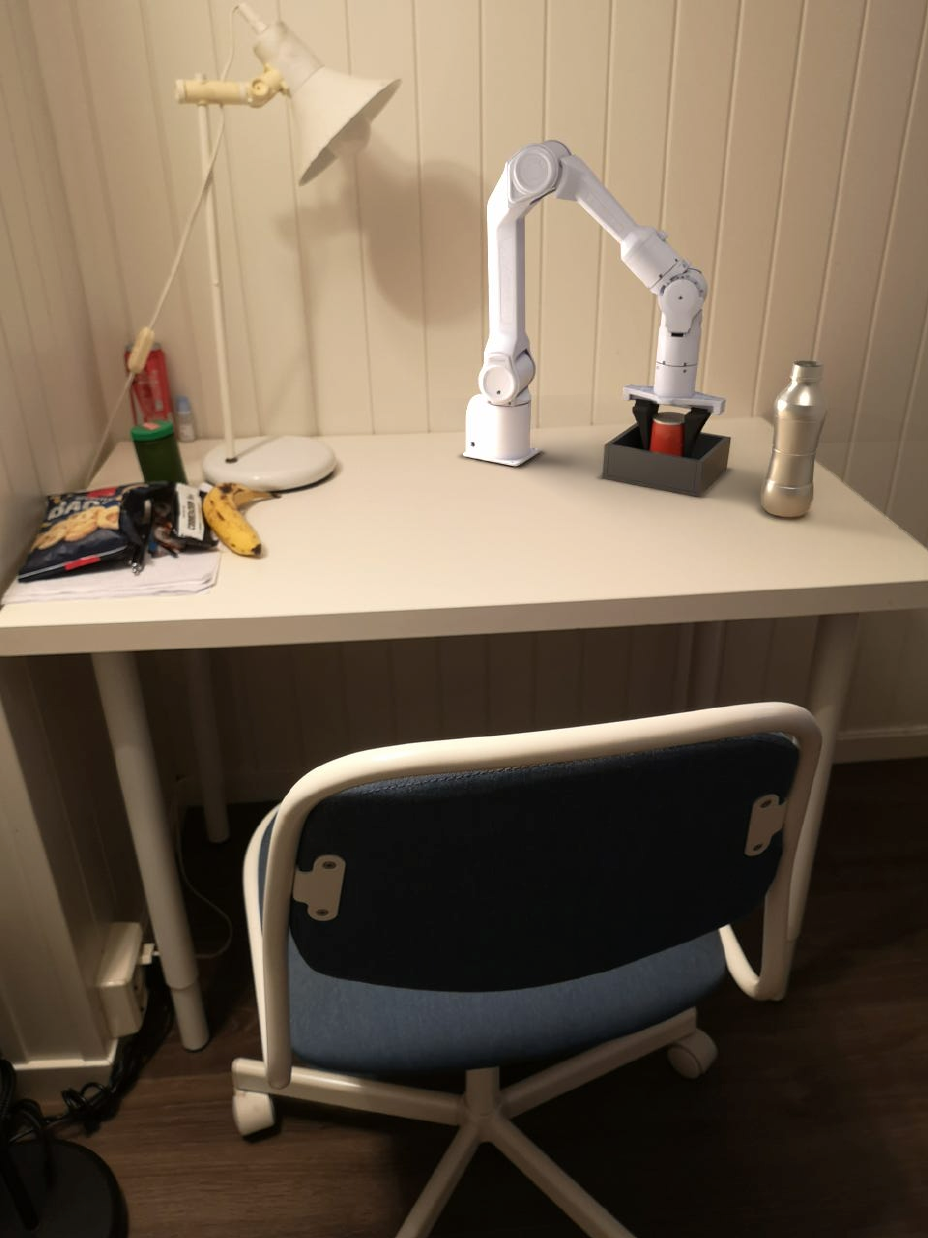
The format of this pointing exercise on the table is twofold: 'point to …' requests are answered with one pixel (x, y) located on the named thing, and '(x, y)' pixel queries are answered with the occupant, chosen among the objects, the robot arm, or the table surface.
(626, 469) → the drawer
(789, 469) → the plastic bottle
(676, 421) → the tin can
